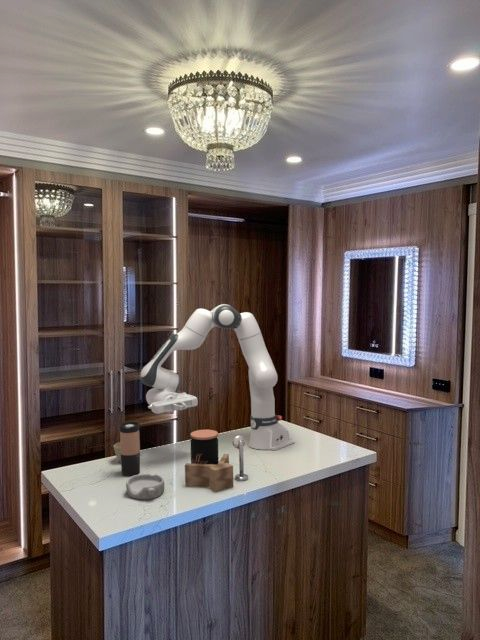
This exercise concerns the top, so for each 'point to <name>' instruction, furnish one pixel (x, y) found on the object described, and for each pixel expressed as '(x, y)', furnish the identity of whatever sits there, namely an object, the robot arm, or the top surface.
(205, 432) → the coffee jar
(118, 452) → the flower pot
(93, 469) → the top surface
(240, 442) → the metal ball stand
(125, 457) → the travel mug
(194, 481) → the wooden l-shaped bracket
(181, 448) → the top surface
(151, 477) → the dish
